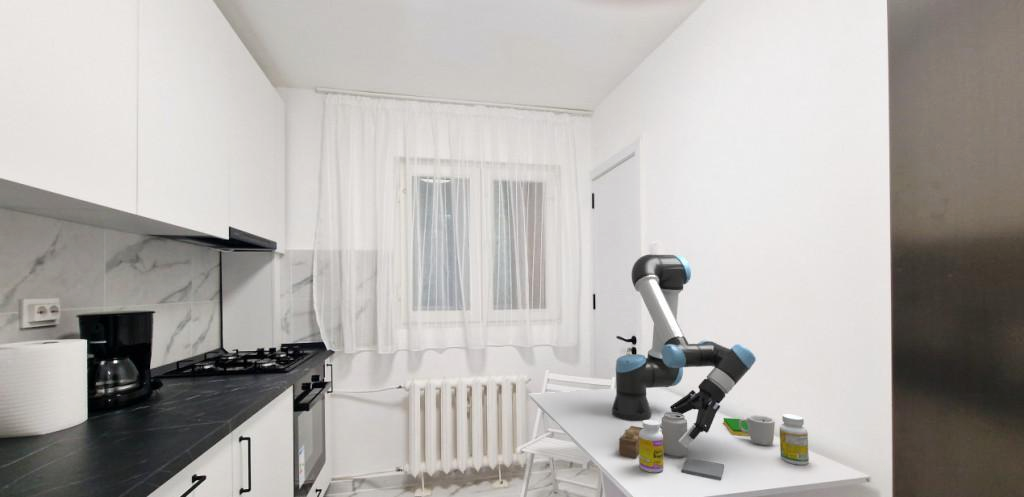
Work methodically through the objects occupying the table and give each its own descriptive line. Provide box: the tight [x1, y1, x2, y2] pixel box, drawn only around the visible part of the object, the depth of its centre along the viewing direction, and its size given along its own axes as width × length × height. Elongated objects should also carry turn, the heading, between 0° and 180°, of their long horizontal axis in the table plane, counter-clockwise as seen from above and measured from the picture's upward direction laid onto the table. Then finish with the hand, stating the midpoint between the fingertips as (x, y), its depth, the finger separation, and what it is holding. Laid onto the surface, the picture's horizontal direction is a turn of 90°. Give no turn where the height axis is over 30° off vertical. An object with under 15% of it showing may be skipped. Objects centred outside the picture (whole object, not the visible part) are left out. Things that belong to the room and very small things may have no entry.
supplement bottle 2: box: [779, 413, 810, 466], centre depth 132 cm, size 7×7×13 cm
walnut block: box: [618, 425, 643, 460], centre depth 140 cm, size 14×5×7 cm, turn 150°
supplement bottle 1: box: [638, 419, 664, 473], centre depth 126 cm, size 7×7×13 cm
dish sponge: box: [723, 417, 750, 437], centre depth 160 cm, size 7×14×2 cm, turn 167°
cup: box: [739, 414, 776, 446], centre depth 147 cm, size 11×8×8 cm
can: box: [661, 411, 689, 458], centre depth 137 cm, size 8×8×12 cm
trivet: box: [681, 456, 725, 481], centre depth 125 cm, size 10×10×1 cm
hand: (671, 436), depth 136 cm, fingers open, 13 cm apart
